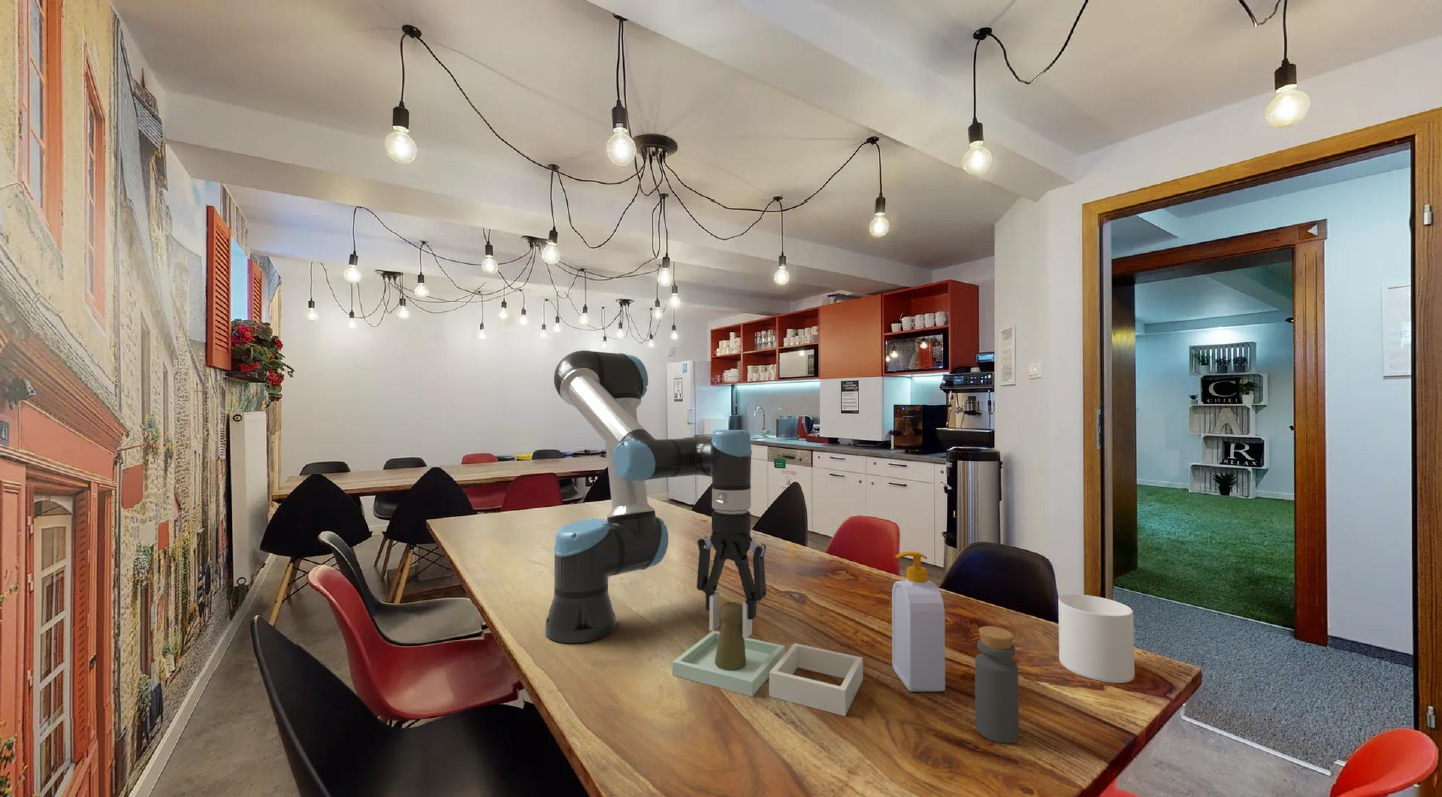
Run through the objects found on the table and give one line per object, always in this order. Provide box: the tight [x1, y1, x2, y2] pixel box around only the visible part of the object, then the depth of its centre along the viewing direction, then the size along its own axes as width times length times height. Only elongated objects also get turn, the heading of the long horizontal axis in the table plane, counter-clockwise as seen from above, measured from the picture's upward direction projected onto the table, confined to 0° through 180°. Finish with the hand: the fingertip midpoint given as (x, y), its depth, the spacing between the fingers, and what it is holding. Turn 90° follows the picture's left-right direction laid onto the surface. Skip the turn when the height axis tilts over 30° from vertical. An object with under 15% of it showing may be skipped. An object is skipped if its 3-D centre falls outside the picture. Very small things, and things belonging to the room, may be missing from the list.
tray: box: [671, 630, 786, 697], centre depth 101 cm, size 16×16×2 cm
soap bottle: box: [891, 550, 946, 692], centre depth 96 cm, size 9×7×23 cm
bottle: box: [974, 625, 1020, 745], centre depth 80 cm, size 6×6×15 cm
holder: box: [768, 643, 864, 717], centre depth 93 cm, size 13×13×4 cm
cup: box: [1058, 593, 1135, 684], centre depth 101 cm, size 12×12×12 cm
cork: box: [715, 601, 746, 670], centre depth 101 cm, size 6×6×11 cm
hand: (730, 631), depth 101 cm, fingers open, 6 cm apart
